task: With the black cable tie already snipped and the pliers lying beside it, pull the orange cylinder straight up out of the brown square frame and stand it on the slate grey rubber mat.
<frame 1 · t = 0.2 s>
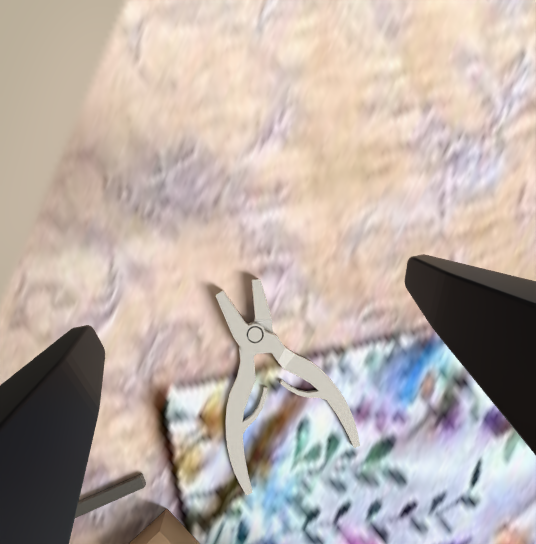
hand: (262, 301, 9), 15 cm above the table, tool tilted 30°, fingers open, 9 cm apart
pliers: (269, 374, 24), on the table
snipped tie: (97, 499, 22), on the table
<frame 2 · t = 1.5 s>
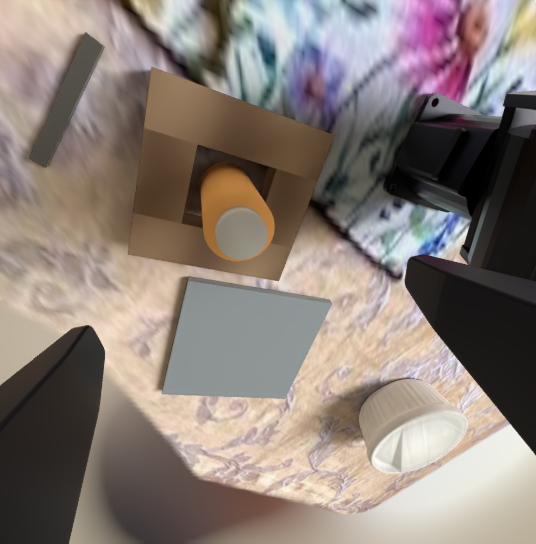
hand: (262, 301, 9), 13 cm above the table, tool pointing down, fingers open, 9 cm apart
ramekin: (392, 401, 37), on the table
rubber mat: (244, 345, 27), on the table
brown square frame: (225, 187, 20), on the table
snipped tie: (66, 104, 16), on the table
orange cylinder: (232, 207, 16), in the brown square frame
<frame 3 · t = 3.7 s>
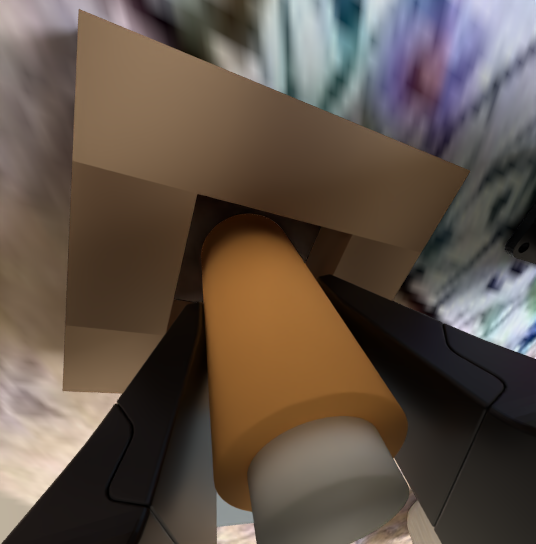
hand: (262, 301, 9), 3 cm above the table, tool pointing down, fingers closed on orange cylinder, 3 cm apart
ramekin: (448, 494, 28), on the table
rubber mat: (264, 462, 18), on the table
brown square frame: (246, 256, 11), on the table
orange cylinder: (271, 329, 8), in the brown square frame, touching gripper
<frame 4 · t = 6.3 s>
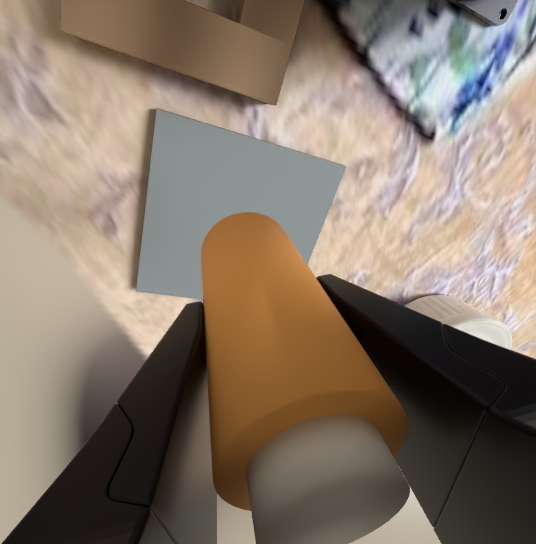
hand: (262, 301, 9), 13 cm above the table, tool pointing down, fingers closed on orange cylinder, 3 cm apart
ramekin: (416, 328, 31), on the table
rubber mat: (236, 228, 21), on the table
orange cylinder: (270, 327, 7), point 14 cm above the table, touching gripper
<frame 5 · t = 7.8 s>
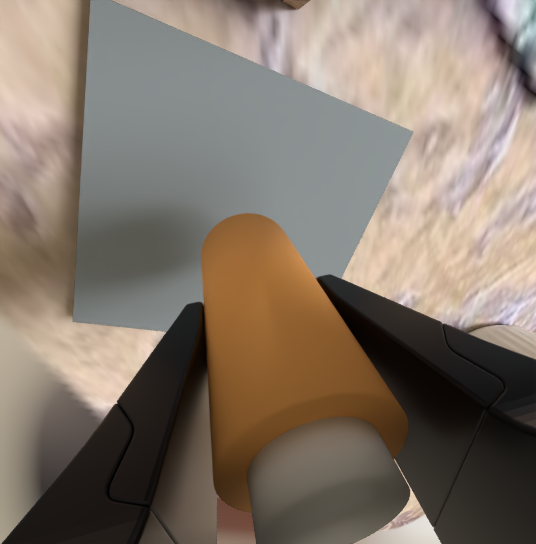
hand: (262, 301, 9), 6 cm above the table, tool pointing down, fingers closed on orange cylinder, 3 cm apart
ramekin: (466, 365, 24), on the table
rubber mat: (234, 225, 14), on the table
orange cylinder: (271, 329, 7), point 7 cm above the table, touching gripper
when the fingers open (4 cm above the table, at t = 8.8 s): orange cylinder stays where it is, resting on rubber mat.
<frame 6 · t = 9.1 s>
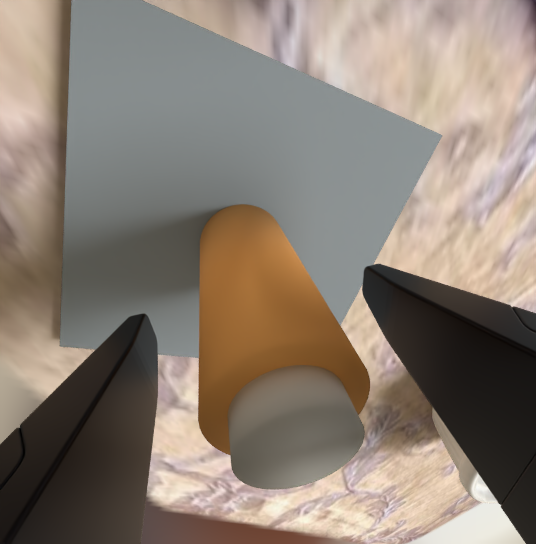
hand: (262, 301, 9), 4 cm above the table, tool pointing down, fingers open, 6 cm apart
ramekin: (483, 382, 22), on the table
rubber mat: (240, 239, 12), on the table
orange cylinder: (259, 305, 8), on the rubber mat, point 5 cm above the table
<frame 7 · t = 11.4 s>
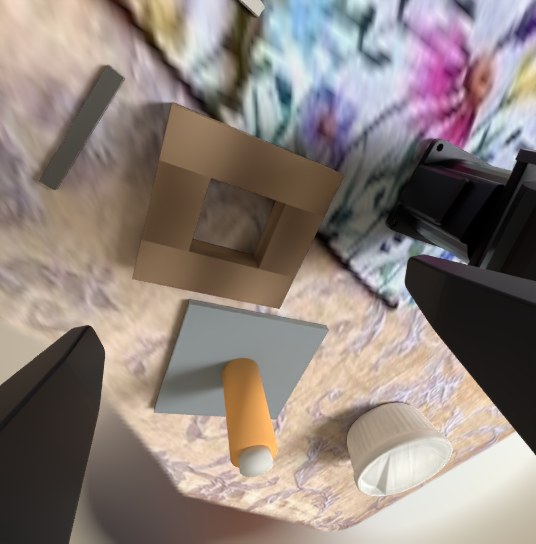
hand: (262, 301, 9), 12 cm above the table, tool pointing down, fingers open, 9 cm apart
ramekin: (379, 423, 37), on the table
rubber mat: (239, 366, 27), on the table
brown square frame: (233, 216, 20), on the table
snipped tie: (81, 131, 16), on the table
orange cylinder: (247, 412, 23), on the rubber mat, point 5 cm above the table
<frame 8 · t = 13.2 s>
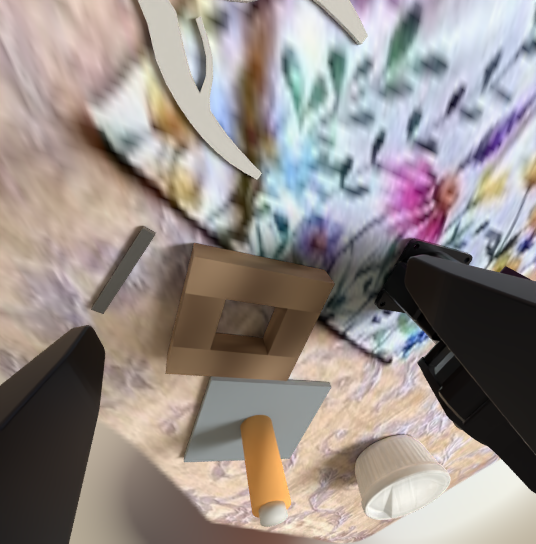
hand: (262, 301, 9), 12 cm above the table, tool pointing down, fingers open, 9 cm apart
ramekin: (384, 452, 41), on the table
rubber mat: (255, 419, 31), on the table
brown square frame: (244, 312, 24), on the table
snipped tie: (122, 270, 20), on the table
orange cylinder: (264, 466, 27), on the rubber mat, point 5 cm above the table
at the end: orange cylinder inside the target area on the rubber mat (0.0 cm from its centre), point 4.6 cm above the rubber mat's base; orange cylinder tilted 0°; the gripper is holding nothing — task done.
